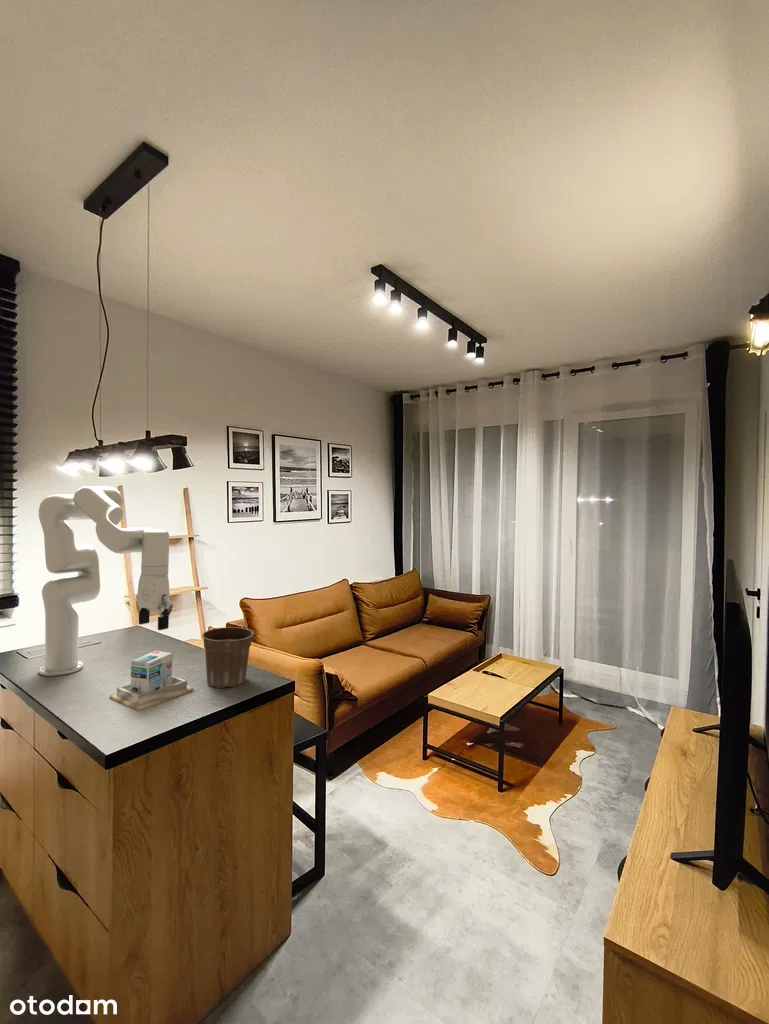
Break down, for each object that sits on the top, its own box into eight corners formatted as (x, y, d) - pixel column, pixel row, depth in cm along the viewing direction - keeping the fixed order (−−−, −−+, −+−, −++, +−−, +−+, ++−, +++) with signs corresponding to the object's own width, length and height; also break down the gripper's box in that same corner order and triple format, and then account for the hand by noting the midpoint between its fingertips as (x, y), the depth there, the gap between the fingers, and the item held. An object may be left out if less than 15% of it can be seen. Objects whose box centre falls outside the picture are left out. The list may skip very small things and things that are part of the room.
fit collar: (109, 697, 145) (109, 687, 145) (164, 679, 161) (164, 670, 161) (138, 710, 137) (139, 700, 137) (193, 690, 153) (193, 680, 153)
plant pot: (261, 676, 166) (263, 629, 166) (234, 694, 151) (235, 642, 150) (220, 670, 171) (221, 624, 170) (190, 687, 155) (191, 637, 155)
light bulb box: (148, 699, 143) (149, 663, 143) (129, 696, 145) (130, 660, 145) (173, 686, 154) (173, 652, 153) (154, 683, 155) (155, 650, 155)
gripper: (126, 568, 149) (125, 623, 150) (160, 575, 140) (159, 634, 141) (149, 566, 156) (148, 619, 156) (183, 572, 147) (181, 628, 147)
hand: (153, 626), depth 149 cm, fingers open, 9 cm apart
